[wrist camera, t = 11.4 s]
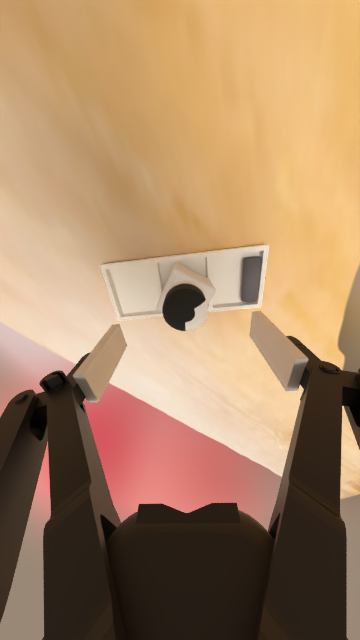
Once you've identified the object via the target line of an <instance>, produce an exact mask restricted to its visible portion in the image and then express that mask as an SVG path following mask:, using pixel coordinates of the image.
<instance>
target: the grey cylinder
mask: <svg viewBox="0 0 360 640" xmlns="http://www.w3.org/2000/svg"><path fill="white" fill-rule="evenodd" d="M261 262H262V257H261V256H251V257H245V258H244V259H243V275H242V291H241V301H243V302H246V303H252V302H256V301H257V297H258V288H259V280H260V271H261Z"/></svg>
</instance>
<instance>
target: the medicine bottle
mask: <svg viewBox="0 0 360 640" xmlns="http://www.w3.org/2000/svg"><path fill="white" fill-rule="evenodd" d="M215 292H216V289H215V287H214V286H213V284H212V282H211V281H210V279H209V278H207V277H205V276H203V275H201V274H199V273H197V272H195V271H193V270H192V269H190V268H188V267H186V266H184V265H182V264H180V263H178V262H176V263H175V265H174V267H173V269H172V271H171V273H170V275H169V278H168V280H167V282H166V284H165V286H164V288H163V291H162V293H161V295H160V298H159V300H158V303H157V305H156V309H157V310H159V311H161V312H162V313H163V317H164V319H165V321H166V322H167V323H168V324H169V325H170V326H171V327H173V328H175V329H177V330H181V331H189V330H193V329H196V328H198V327H199V326H201V325H202V324H203V323H204V321H205V320H206V318H207V315H208V303H209V301H210V300H211V298H212V297H213V295H214V293H215Z"/></svg>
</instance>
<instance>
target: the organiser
mask: <svg viewBox="0 0 360 640" xmlns="http://www.w3.org/2000/svg"><path fill="white" fill-rule="evenodd" d="M268 251H269V245H267V244H261V245H253V246H245V247H237V248H229V249H220V250H212V251H204V252H196V253H187V254H179V255H171V256H163V257H155V258H146V259H138V260H130V261H122V262H113V263H105V264H102V265H100V268H101V271H102V274H103V277H104V280H105V283H106V286H107V289H108V292H109V295H110V298H111V301H112V304H113V307H114V311H115V314H116V317H117V320H118V321H122V320H133V319H143V318H154V317H163V313H162V312H161V311H159V310H157V309H156V305H157V303H158V300H159V298H160V295H161V293H162V291H163V288H164V286H165V284H166V282H167V280H168V278H169V275H170V273H171V271H172V269H173V267H174V265H175V263H176V262H178V263H180V264H182V265H184V266H186V267H188V268H190V269H192V270H193V271H195V272H197V273H199V274H201V275H203V276H205V277H207V278H209V279H210V281H211V282H212V284H213V286H214V287H215V289H216V292H215V293H214V295H213V297H212V298H211V300H210V301H209V303H208V312H217V311H228V310H238V309H249V308H259V307H261V306H262V298H263V290H264V282H265V275H266V267H267V259H268ZM251 256H261V257H262V262H261V271H260V280H259V288H258V297H257V301H256V302H252V303H246V302H243V301H241V291H242V275H243V259H244V258H245V257H251Z"/></svg>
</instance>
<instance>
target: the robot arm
mask: <svg viewBox="0 0 360 640" xmlns="http://www.w3.org/2000/svg"><path fill="white" fill-rule="evenodd" d="M250 337H251V339H252V340H253V342H254V343H255V345H256V346H257V348H258V349H259V351H260V352H261V354H262V355H263V357H264V358H265V360H266V361H267V363H268V365H269V366H270V368H271V369H272V371H273V372H274V374H275V375H276V377H277V378H278V380H279V381H280V383H281V384H282V386H283V387H284V389H285V391H294V390H298V388H299V385H301V386H302V387H303V388H304V391H303V393H302V396H301V399H300V400H301V402H300V406H299V410H298V414H297V418H296V422H295V426H294V431H293V435H292V439H291V443H290V447H289V451H288V455H287V459H286V463H285V468H284V472H283V476H282V480H281V484H280V488H279V492H278V497H277V500H276V504H275V507H274V511H273V514H272V517H271V521H270V525H269V529H268V532H267V530H266V529H265V528H264V527H263V526H262V525H261V524H260V523H259V522H257V521H256V520H255V519H254V518H252V517H251V516H249V515H248V514H246V513H244V512H242V511H240V510H238V507H237V503H212V504H209V505H206V506H204V507H202V508H199V509H197V510H195V511H192V512H190V513H184V512H181V511H179V510H176V509H174V508H171V507H169V506H166V505H164V504H139V507H138V512H136V513H134V514H132V515H131V516H129V517H128V518H127V519H126V520H124V521H123V522H122V523H121V522H120V519H119V517H118V514H117V512H116V510H115V508H114V505H113V502H112V499H111V496H110V492H109V489H108V485H107V482H106V478H105V475H104V471H103V468H102V465H101V461H100V458H99V454H98V451H97V447H96V444H95V440H94V437H93V434H92V430H91V427H90V424H89V420H88V416H87V413H86V409H85V406H84V404H83V401H84V399H85V397H86V399H87V400H88V402H99V400H100V398H101V396H102V394H103V392H104V390H105V388H106V386H107V384H108V382H109V380H110V378H111V377H112V375H113V373H114V371H115V369H116V367H117V365H118V363H119V361H120V359H121V357H122V355H123V353H124V351H125V349H126V347H127V344H126V342H125V339H124V336H123V333H122V330H121V327H120V324H115V325H112V326H111V327H110V328H109V330H108V331H107V332H106V334H105V335H104V336H103V337H102V339H101V340H100V341H99V342H98V344H97V345H96V346H95V348H94V349H93V350H92V351H91V353H87V354H86V355H85V356H83V357H82V358H81V359H80V361H79V363H77V364H76V366H75V367H74V368H73V369H72V370H71V372H70V373H69V374H68V375H67V377H66V375H65V374H64V373H63V371H55V372H52V373H50V374H49V375H47V376H45V377H44V378H43V379H42V380H41V381H40V386H41V387H42V388H43V390H44V391H45V392H42V393H38V394H36V393H35V392H34V391H33V390H26V391H24V392H22V393H19V394H18V395H16V396H15V397H14V398H13V399H12V400H11V401H10V402H9V403H8V405H7V407H6V409H5V410H4V412H3V414H2V416H1V417H0V622H1V619H2V616H3V613H4V610H5V606H6V603H7V599H8V595H9V592H10V588H11V585H12V581H13V577H14V573H15V569H16V565H17V561H18V557H19V553H20V549H21V545H22V541H23V537H24V533H25V529H26V525H27V521H28V517H29V513H30V509H31V505H32V501H33V497H34V493H35V489H36V485H37V481H38V477H39V474H40V470H41V465H42V461H43V458H44V453H45V450H46V446H47V441H48V449H49V474H50V497H51V517H50V520H49V521H48V522H47V523H46V525H45V528H44V536H43V556H44V557H43V558H44V637H43V639H42V640H348V639H347V637H346V528H345V523H344V521H343V520H342V519H341V517H340V476H341V432H342V405H343V406H344V408H345V411H346V414H347V416H348V419H349V422H350V425H351V427H352V430H353V433H354V435H355V438H356V441H357V444H358V446H359V449H360V369H359V370H358V372H357V373H355V372H348V371H342V370H341V369H340V368H339V367H337V366H335V365H334V364H331V363H329V362H325V361H321V360H320V359H319V358H318V357H317V356H315V355H314V354H313V353H312V352H311V351H310V350H309V349H307V347H306V346H305V345H303V344H302V343H301V342H300V341H299V340H298V339H296V338H294V337H292V336H285V335H284V334H283V333H282V332H281V331H280V330H279V329H278V328H277V327H276V326H275V325H274V324H273V323H272V322H271V321H270V320H269V319H268V318H267V317H266V316H265V315H264V314H263V313H262V312H261V311H254V312H252V318H251V327H250Z"/></svg>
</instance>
